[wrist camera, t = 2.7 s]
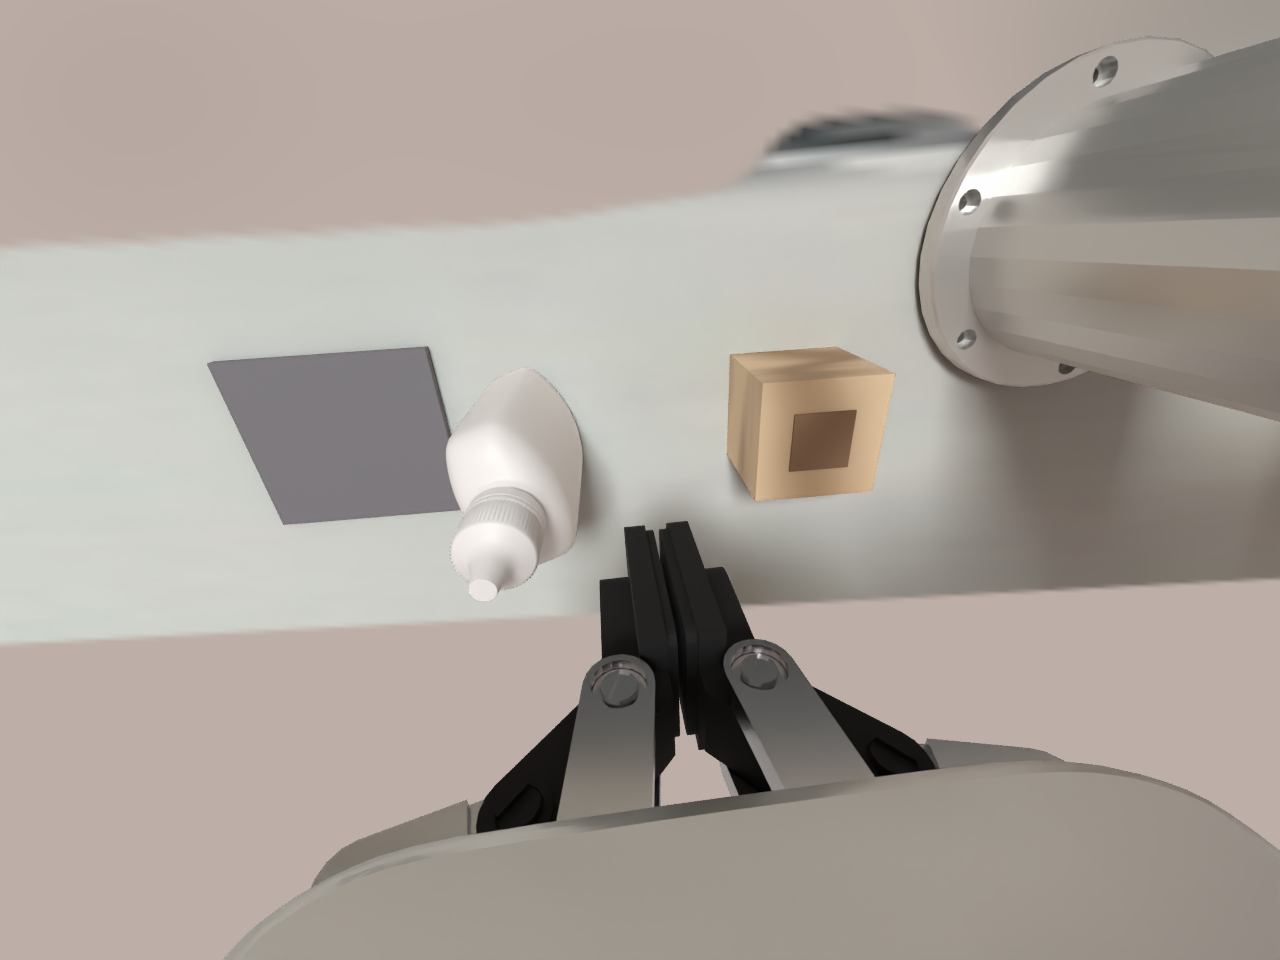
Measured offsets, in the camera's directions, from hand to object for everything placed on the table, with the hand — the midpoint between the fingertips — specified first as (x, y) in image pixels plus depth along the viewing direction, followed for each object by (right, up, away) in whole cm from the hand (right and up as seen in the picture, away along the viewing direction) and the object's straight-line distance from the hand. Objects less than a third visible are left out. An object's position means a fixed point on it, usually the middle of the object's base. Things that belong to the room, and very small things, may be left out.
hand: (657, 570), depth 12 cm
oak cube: (+6, +6, +11) cm, 14 cm away
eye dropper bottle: (-5, +5, +10) cm, 13 cm away
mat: (-14, +4, +10) cm, 17 cm away
